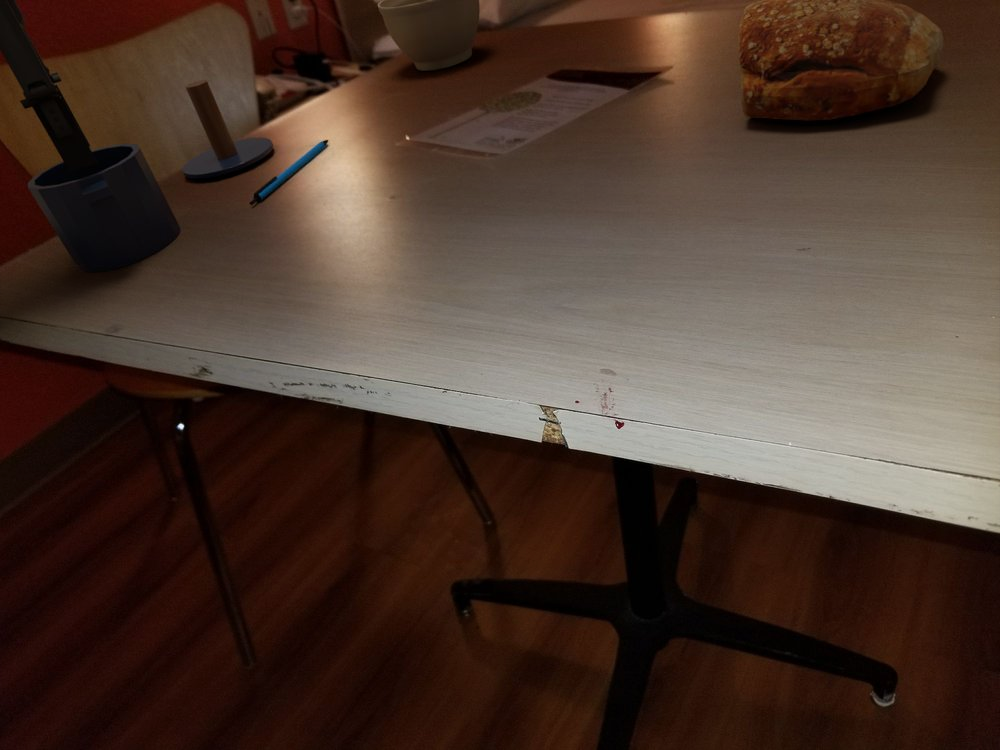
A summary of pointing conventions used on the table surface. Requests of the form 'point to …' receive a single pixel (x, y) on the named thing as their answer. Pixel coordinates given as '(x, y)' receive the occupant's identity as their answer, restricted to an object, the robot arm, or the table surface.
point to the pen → (287, 173)
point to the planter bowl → (432, 30)
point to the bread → (832, 57)
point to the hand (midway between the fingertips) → (80, 157)
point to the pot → (106, 209)
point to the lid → (220, 140)
